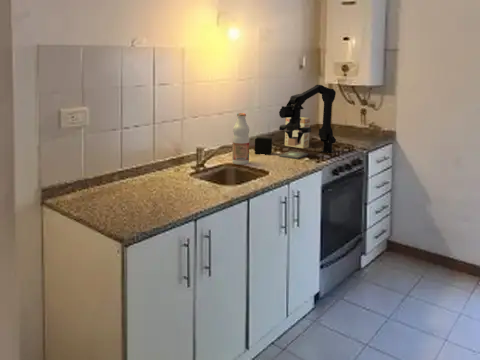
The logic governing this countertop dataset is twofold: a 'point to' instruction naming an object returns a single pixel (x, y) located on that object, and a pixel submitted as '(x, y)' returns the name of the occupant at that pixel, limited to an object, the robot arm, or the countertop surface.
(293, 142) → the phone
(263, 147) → the electronic device
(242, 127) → the fruit juice
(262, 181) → the countertop surface
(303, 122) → the coffeecake box
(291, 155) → the pad
